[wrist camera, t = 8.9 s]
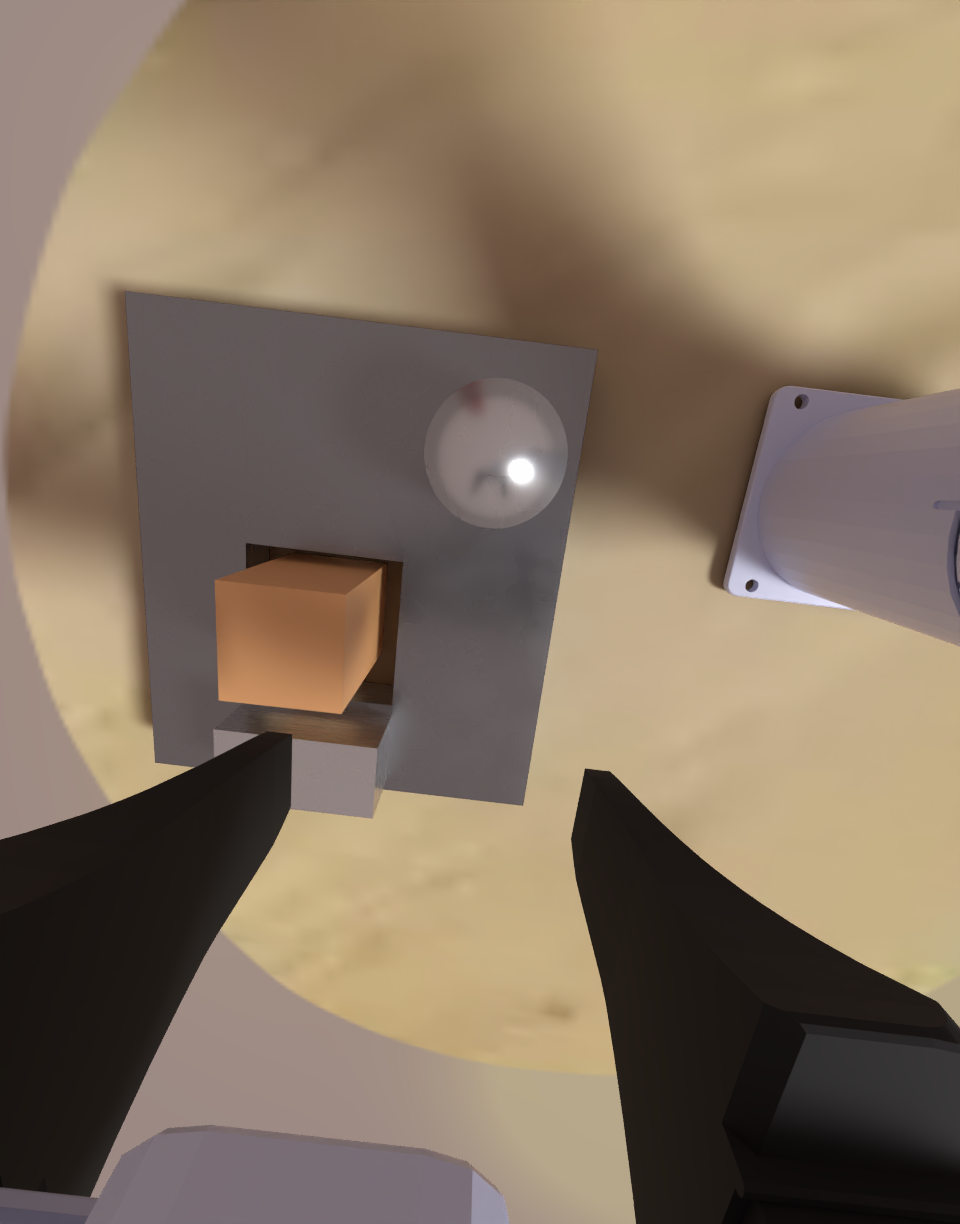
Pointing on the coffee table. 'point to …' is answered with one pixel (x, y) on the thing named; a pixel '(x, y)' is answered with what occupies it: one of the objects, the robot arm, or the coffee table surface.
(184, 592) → the slotted grey plate
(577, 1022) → the coffee table surface
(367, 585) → the tan rectangular block
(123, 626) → the coffee table surface
